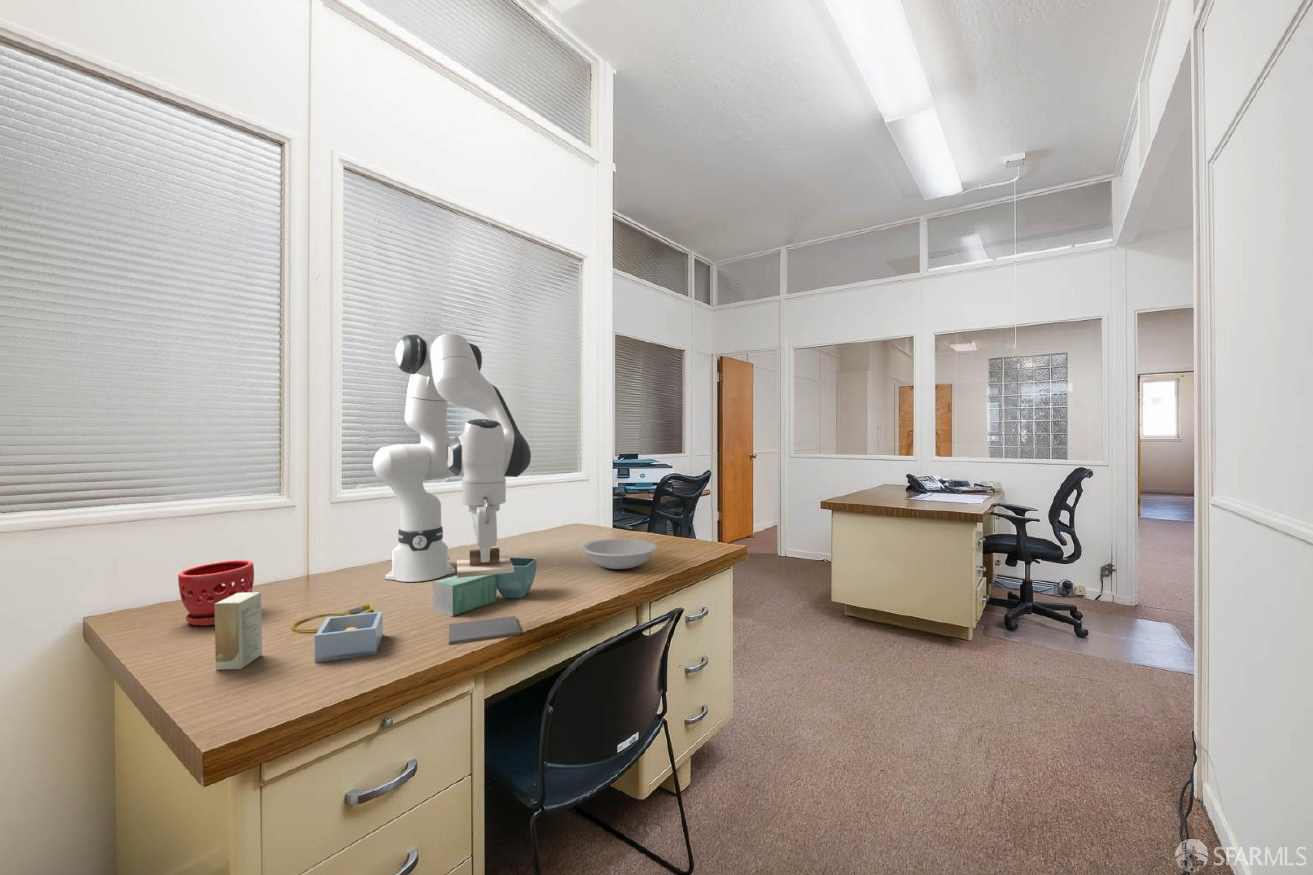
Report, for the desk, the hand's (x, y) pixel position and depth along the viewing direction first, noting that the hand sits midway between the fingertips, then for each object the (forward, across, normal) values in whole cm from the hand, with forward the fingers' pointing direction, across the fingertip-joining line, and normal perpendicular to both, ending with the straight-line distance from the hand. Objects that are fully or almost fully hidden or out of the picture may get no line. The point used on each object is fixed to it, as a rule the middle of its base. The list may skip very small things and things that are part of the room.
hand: (484, 559), depth 111 cm
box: (+16, +18, +3) cm, 24 cm away
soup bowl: (+15, +40, -43) cm, 61 cm away
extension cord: (+16, +18, +31) cm, 39 cm away
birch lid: (+2, 0, 0) cm, 2 cm away
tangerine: (+13, 0, +25) cm, 28 cm away
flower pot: (+15, +22, -9) cm, 28 cm away
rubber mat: (+15, 0, 0) cm, 15 cm away
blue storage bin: (+15, 0, +25) cm, 29 cm away
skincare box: (+15, 0, +43) cm, 46 cm away
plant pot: (+15, +29, +56) cm, 65 cm away
